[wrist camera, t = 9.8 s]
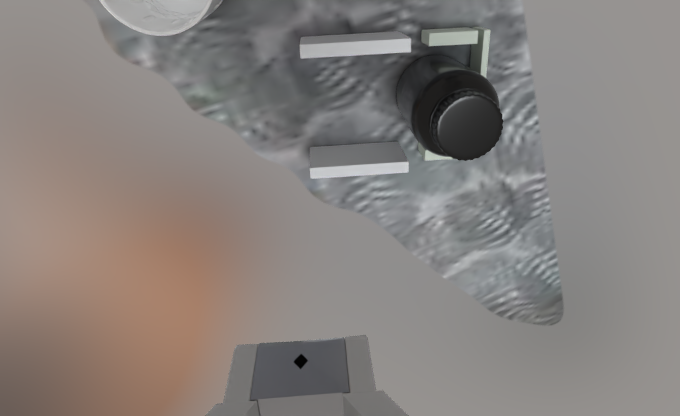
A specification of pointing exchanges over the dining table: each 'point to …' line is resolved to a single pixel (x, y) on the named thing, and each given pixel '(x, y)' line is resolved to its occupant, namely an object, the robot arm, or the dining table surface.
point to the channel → (356, 155)
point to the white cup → (160, 14)
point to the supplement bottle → (449, 107)
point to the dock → (477, 59)
